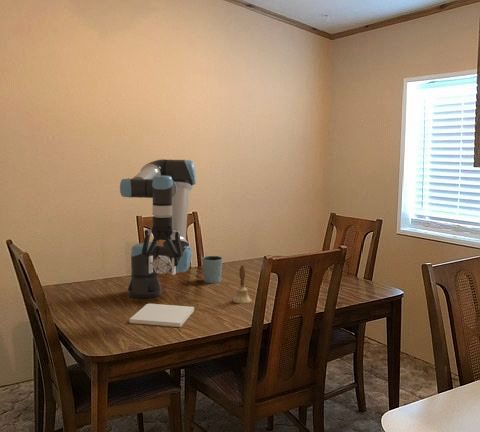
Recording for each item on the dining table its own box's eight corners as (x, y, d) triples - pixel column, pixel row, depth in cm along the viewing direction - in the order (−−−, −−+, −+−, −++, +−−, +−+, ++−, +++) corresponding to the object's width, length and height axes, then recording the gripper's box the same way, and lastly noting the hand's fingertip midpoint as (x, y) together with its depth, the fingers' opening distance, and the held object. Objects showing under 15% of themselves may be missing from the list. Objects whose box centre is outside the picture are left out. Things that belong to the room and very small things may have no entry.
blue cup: (226, 280, 257) (226, 257, 255) (214, 285, 248) (215, 260, 247) (209, 277, 262) (210, 254, 260) (198, 281, 254) (198, 258, 252)
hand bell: (245, 304, 218) (246, 268, 216) (229, 301, 222) (229, 265, 220) (254, 300, 225) (255, 264, 223) (239, 296, 229) (239, 262, 227)
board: (194, 310, 209) (194, 306, 208) (180, 327, 189) (180, 323, 189) (147, 306, 212) (147, 303, 212) (129, 322, 192) (129, 319, 192)
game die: (166, 283, 200) (182, 263, 200) (157, 280, 192) (173, 259, 192) (151, 269, 203) (166, 249, 203) (141, 266, 195) (157, 245, 195)
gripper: (191, 216, 197) (191, 272, 200) (139, 213, 201) (139, 269, 204) (186, 218, 190) (186, 277, 193) (132, 216, 193) (132, 273, 196)
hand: (162, 273), depth 198 cm, fingers closed on game die, 9 cm apart
